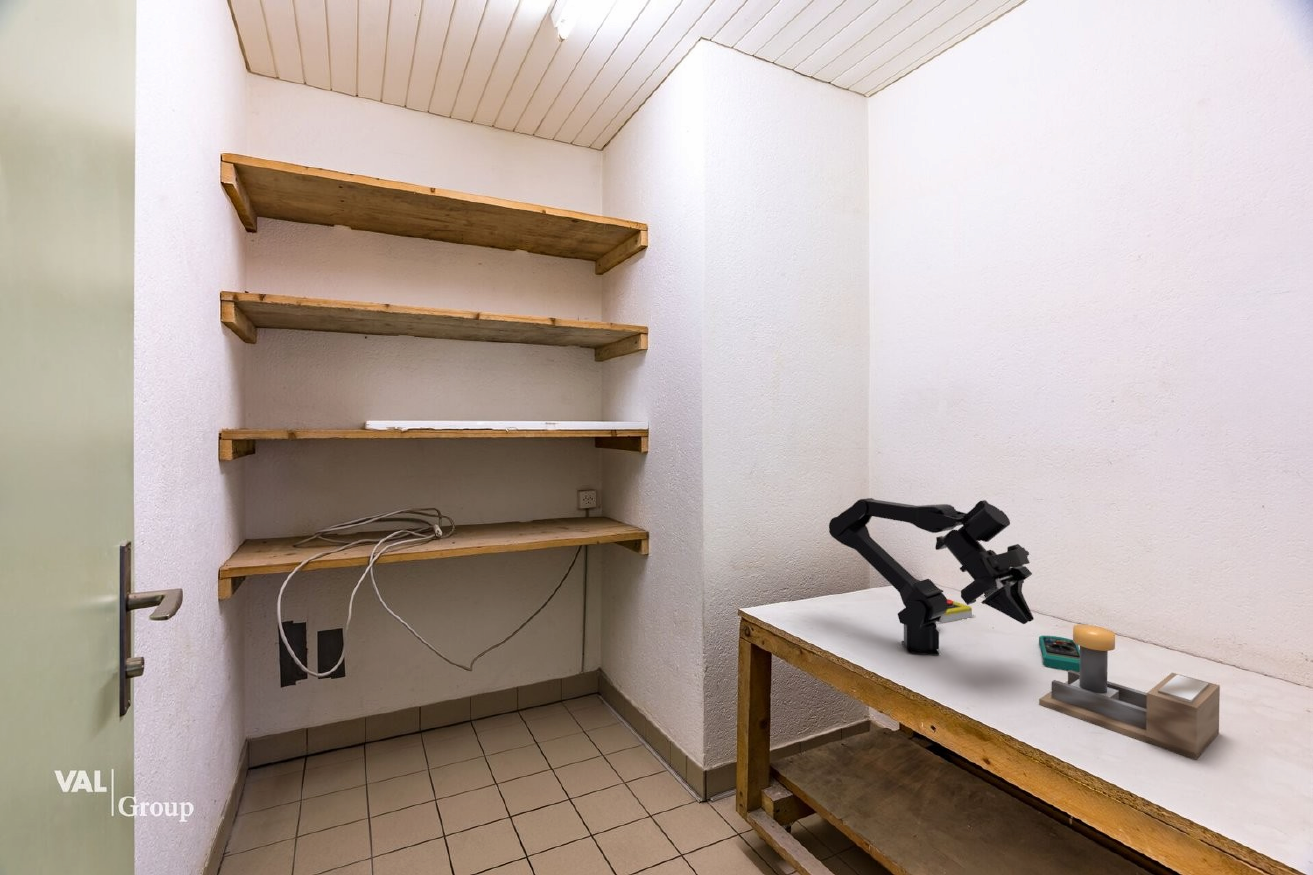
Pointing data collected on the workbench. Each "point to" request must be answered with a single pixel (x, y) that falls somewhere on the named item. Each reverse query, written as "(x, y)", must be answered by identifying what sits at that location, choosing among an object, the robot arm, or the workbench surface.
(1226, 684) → the workbench surface
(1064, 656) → the digital multimeter
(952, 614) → the emergency button
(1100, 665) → the knob carriage
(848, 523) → the robot arm
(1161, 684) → the knob mount
